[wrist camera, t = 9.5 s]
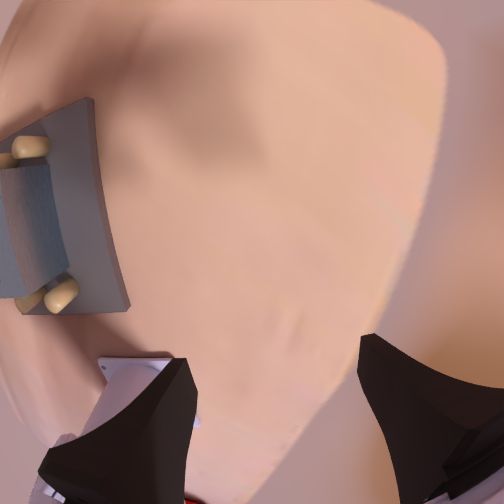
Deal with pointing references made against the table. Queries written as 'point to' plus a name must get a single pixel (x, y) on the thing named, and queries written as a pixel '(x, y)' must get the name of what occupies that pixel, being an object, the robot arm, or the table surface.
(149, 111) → the table surface
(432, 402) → the robot arm
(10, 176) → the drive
